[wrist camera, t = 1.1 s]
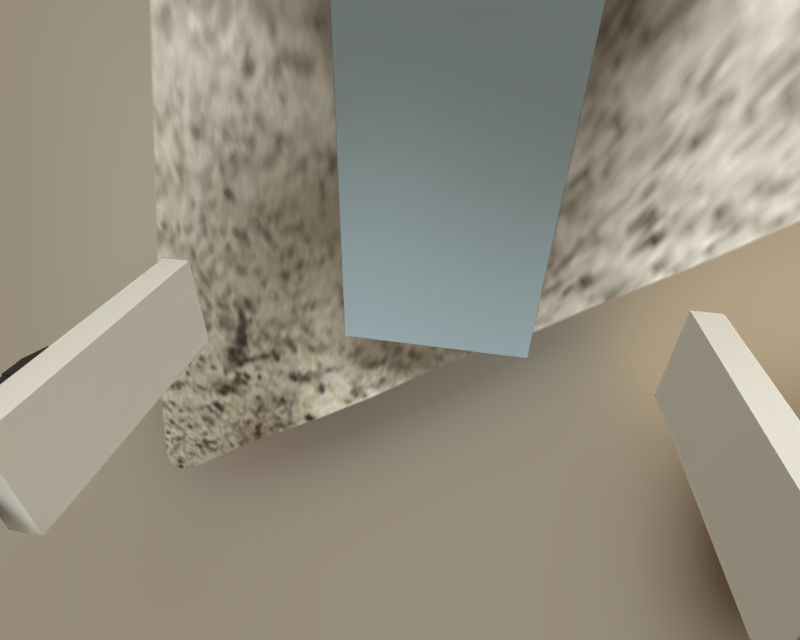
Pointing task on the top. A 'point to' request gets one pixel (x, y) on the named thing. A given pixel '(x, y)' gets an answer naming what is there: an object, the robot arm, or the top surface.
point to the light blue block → (454, 162)
